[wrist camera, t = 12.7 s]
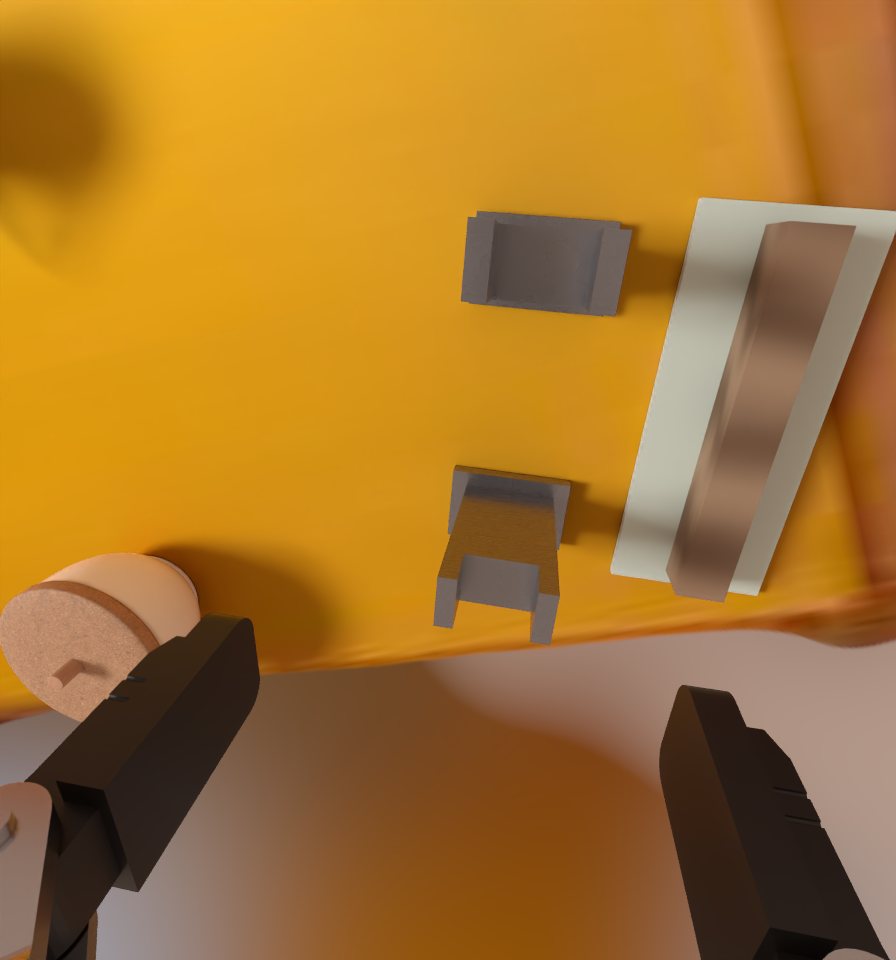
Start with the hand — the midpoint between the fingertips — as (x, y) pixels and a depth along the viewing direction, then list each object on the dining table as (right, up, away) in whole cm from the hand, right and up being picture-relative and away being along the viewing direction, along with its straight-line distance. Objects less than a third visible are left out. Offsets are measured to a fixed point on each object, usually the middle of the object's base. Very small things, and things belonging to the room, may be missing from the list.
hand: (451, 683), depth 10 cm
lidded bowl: (-25, -6, +36) cm, 45 cm away
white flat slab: (+18, +8, +23) cm, 30 cm away
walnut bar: (+18, +7, +22) cm, 29 cm away
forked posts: (+5, +9, +25) cm, 27 cm away
